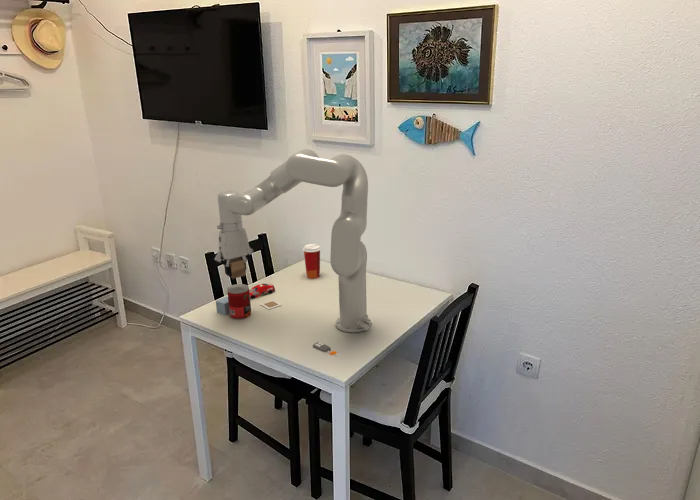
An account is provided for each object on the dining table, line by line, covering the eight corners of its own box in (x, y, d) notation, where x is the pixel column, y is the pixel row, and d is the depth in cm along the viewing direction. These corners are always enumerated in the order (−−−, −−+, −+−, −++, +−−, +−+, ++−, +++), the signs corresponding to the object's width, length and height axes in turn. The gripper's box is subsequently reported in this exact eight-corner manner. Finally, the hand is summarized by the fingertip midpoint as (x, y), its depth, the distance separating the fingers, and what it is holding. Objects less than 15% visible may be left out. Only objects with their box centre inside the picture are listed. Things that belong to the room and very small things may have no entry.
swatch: (281, 305, 208) (281, 304, 208) (268, 309, 204) (268, 308, 204) (274, 300, 212) (274, 299, 212) (260, 304, 209) (260, 303, 209)
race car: (247, 301, 213) (246, 292, 212) (241, 297, 217) (240, 288, 216) (277, 292, 220) (276, 283, 219) (270, 288, 224) (270, 279, 223)
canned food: (249, 319, 197) (246, 291, 194) (227, 319, 197) (224, 292, 194) (253, 310, 205) (250, 283, 201) (232, 310, 205) (229, 283, 201)
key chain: (311, 348, 177) (311, 344, 176) (319, 344, 179) (319, 340, 179) (339, 361, 168) (339, 357, 168) (347, 357, 171) (347, 353, 170)
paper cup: (315, 272, 241) (313, 242, 236) (325, 276, 235) (324, 246, 230) (300, 276, 236) (299, 246, 231) (311, 281, 230) (309, 250, 226)
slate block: (235, 311, 204) (234, 299, 203) (225, 316, 201) (224, 303, 199) (227, 308, 207) (226, 296, 206) (216, 312, 203) (215, 300, 202)
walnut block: (245, 275, 195) (244, 259, 193) (232, 278, 193) (231, 263, 191) (239, 271, 199) (237, 256, 197) (226, 274, 196) (225, 259, 194)
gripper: (213, 233, 182) (218, 282, 188) (258, 223, 192) (261, 271, 198) (204, 228, 188) (209, 276, 194) (248, 219, 197) (252, 265, 203)
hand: (236, 273), depth 196 cm, fingers closed on walnut block, 5 cm apart
